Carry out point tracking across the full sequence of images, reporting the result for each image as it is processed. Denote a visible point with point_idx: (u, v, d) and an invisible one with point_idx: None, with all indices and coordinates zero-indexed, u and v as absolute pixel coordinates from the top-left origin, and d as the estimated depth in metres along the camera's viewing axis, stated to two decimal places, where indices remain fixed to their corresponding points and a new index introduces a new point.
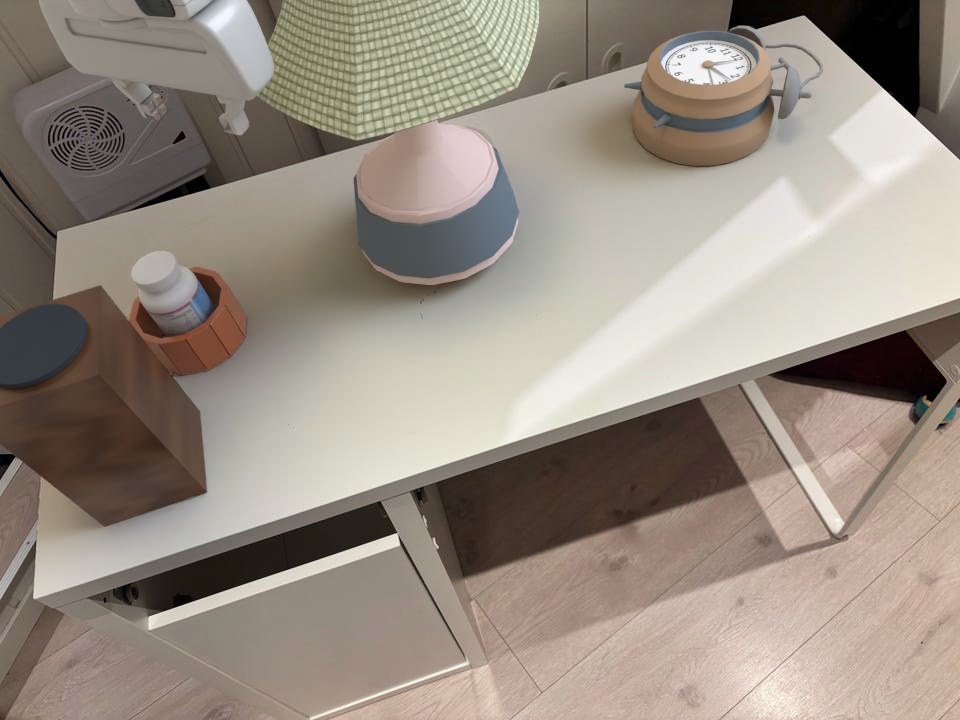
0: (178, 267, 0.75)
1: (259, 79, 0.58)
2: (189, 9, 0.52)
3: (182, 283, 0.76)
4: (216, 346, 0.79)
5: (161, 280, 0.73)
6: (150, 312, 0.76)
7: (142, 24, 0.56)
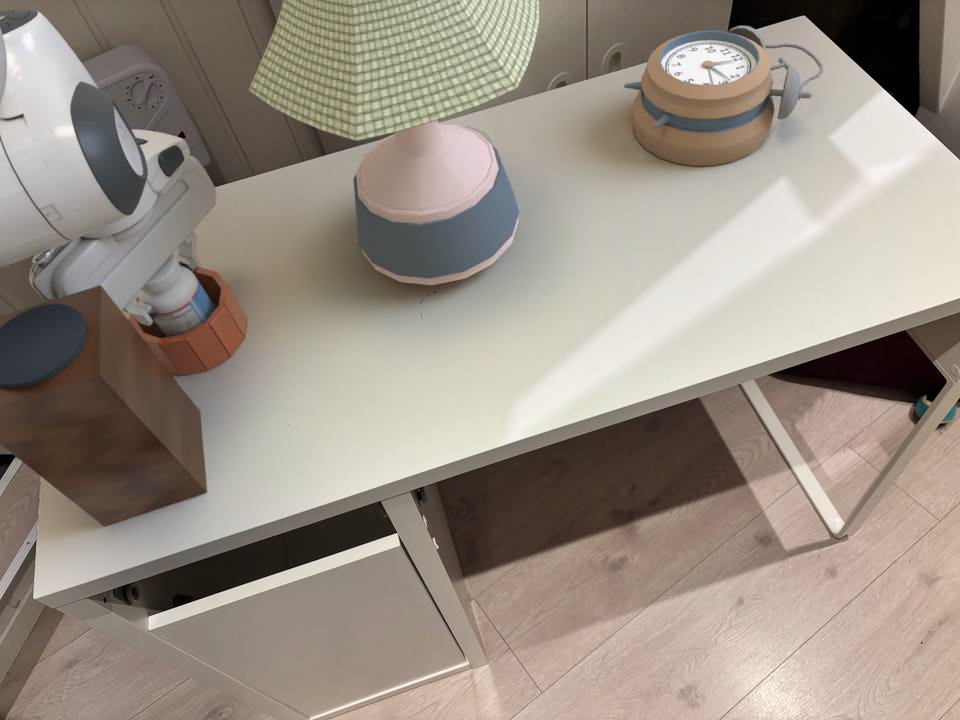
0: (178, 267, 0.75)
1: None
2: None
3: (182, 283, 0.76)
4: (216, 346, 0.79)
5: (160, 280, 0.73)
6: None
7: None
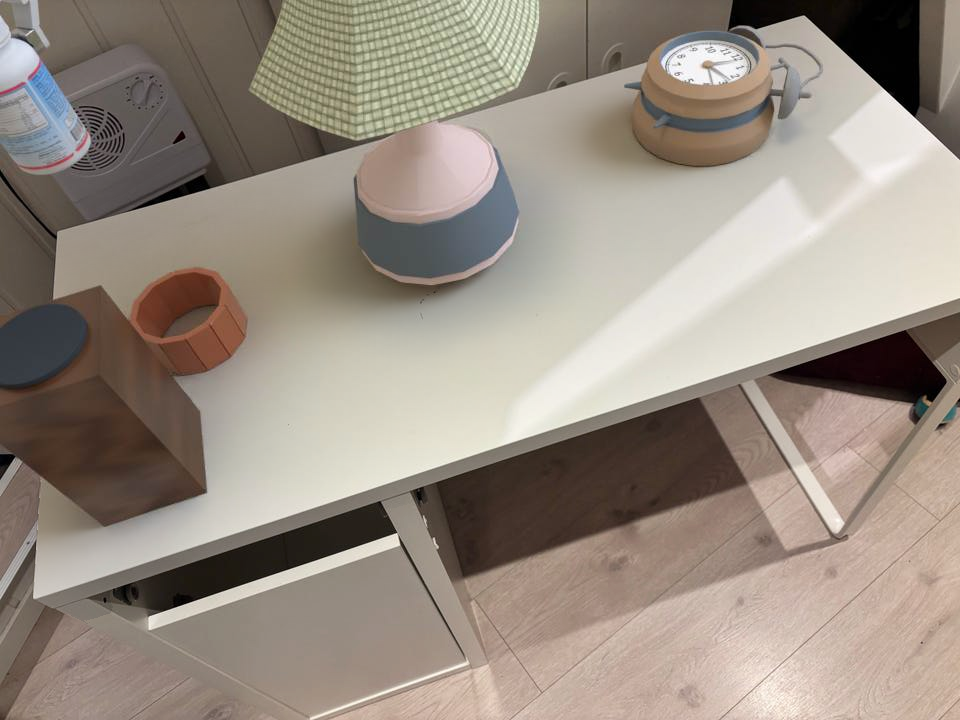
0: (4, 29, 0.53)
1: None
2: None
3: (12, 54, 0.54)
4: (216, 346, 0.79)
5: None
6: None
7: None
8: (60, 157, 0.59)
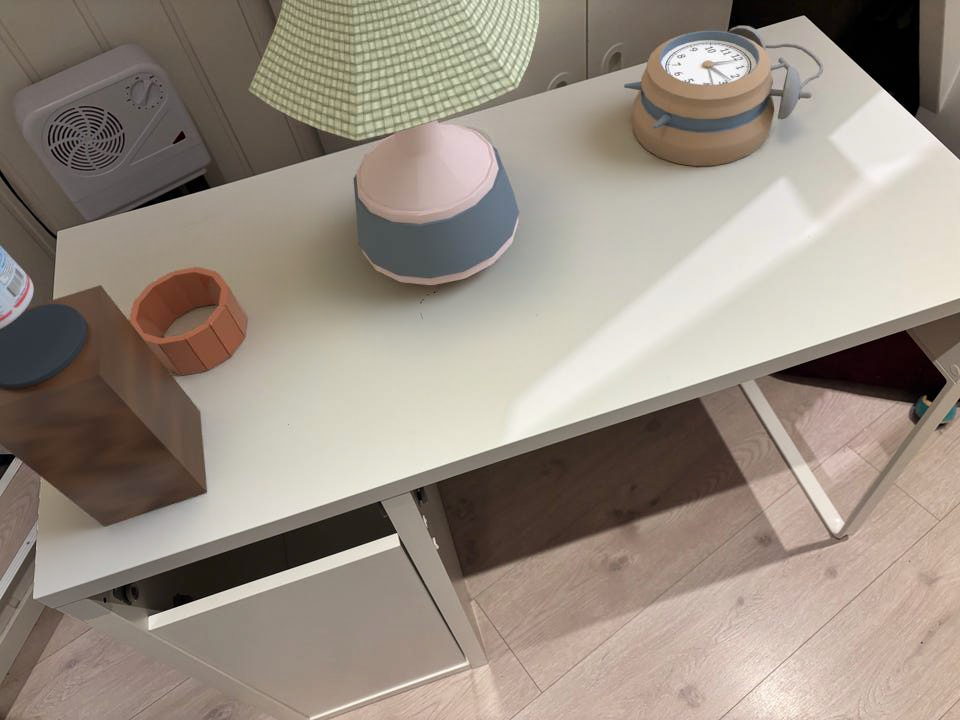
0: None
1: None
2: None
3: None
4: (216, 346, 0.79)
5: None
6: None
7: None
8: None
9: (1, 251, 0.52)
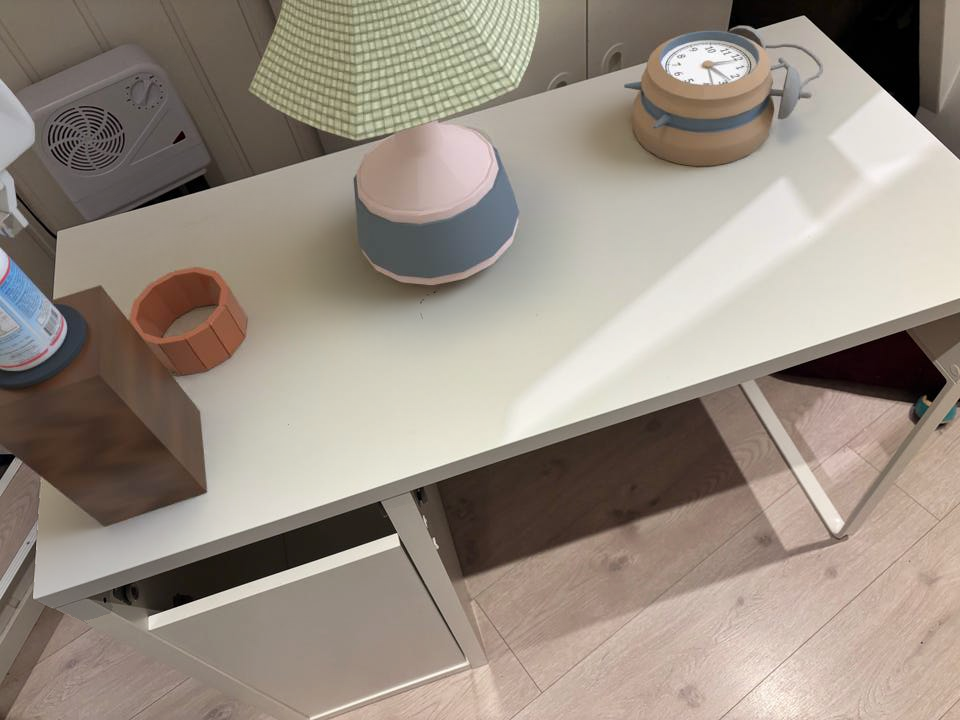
0: None
1: None
2: None
3: None
4: (216, 346, 0.79)
5: None
6: None
7: None
8: (33, 355, 0.55)
9: (38, 293, 0.55)
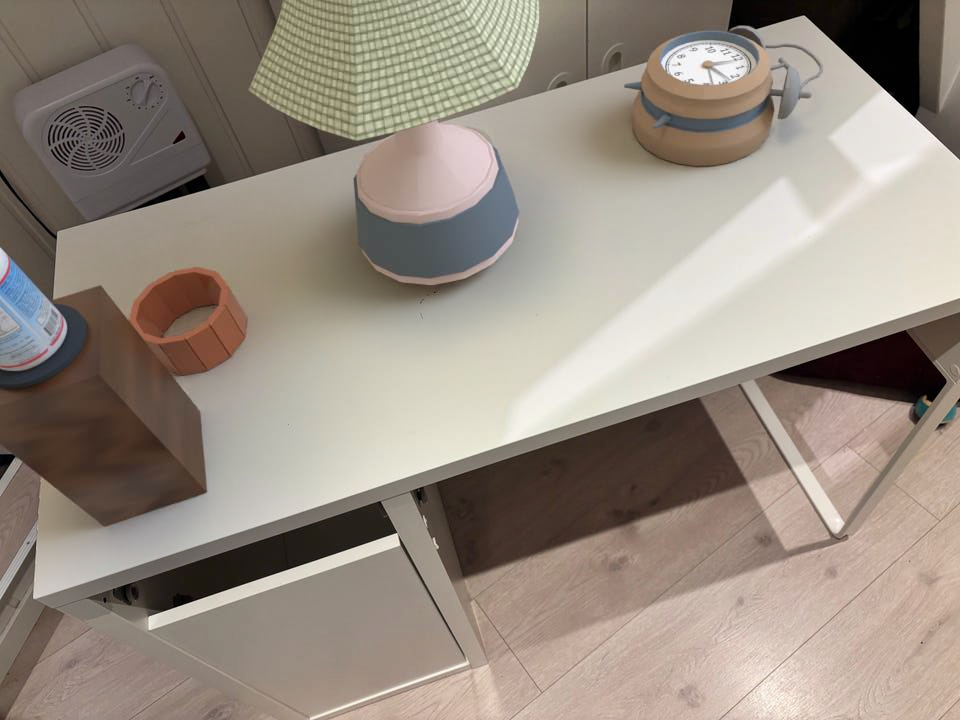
0: None
1: None
2: None
3: None
4: (216, 346, 0.79)
5: None
6: None
7: None
8: (33, 355, 0.55)
9: (38, 293, 0.55)
